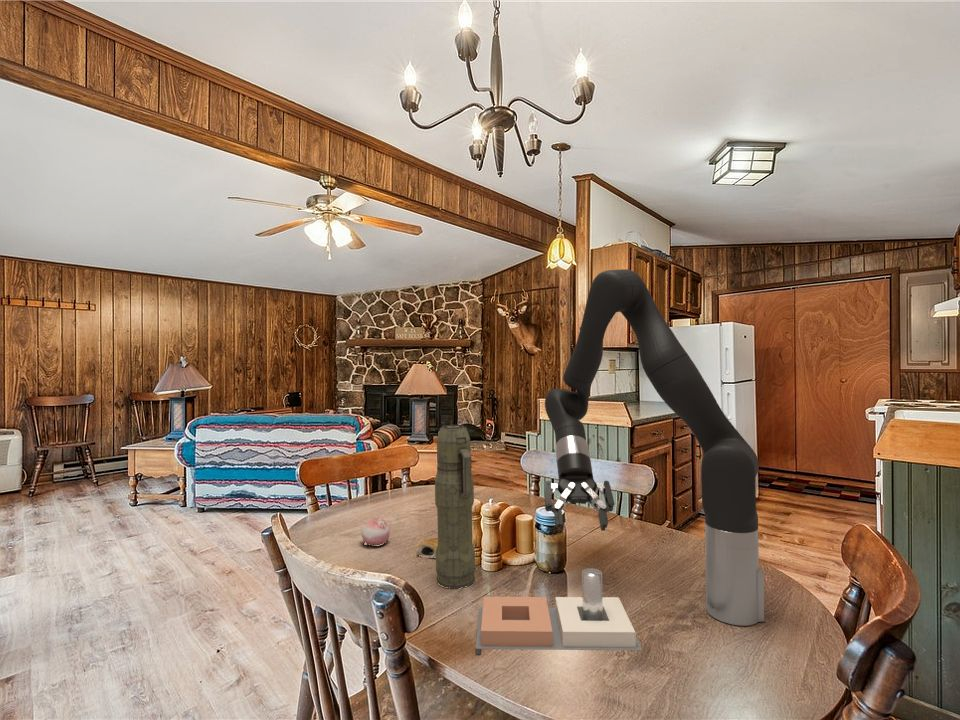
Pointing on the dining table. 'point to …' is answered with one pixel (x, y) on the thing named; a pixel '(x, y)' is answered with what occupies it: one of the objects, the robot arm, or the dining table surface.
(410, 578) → the dining table surface
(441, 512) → the thermos
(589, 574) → the steel pin
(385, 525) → the onion
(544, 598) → the dock board
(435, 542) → the pastry
